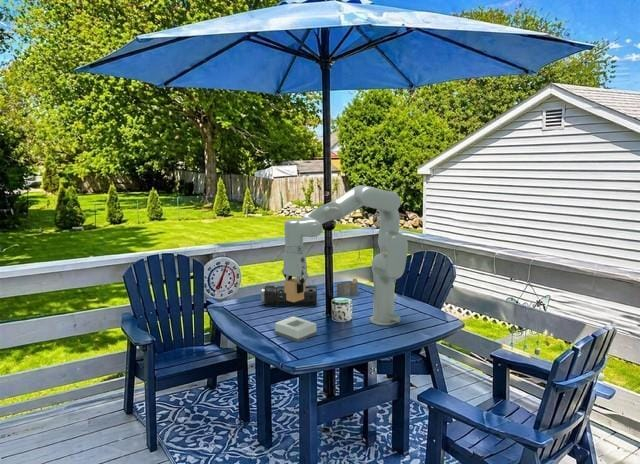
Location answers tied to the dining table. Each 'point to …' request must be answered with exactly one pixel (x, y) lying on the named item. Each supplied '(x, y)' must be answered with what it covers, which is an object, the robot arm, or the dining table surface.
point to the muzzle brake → (279, 296)
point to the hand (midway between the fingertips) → (295, 290)
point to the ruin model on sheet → (347, 288)
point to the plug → (293, 290)
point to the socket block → (295, 329)
